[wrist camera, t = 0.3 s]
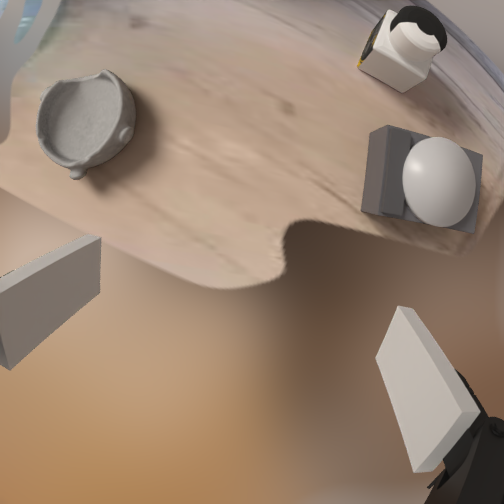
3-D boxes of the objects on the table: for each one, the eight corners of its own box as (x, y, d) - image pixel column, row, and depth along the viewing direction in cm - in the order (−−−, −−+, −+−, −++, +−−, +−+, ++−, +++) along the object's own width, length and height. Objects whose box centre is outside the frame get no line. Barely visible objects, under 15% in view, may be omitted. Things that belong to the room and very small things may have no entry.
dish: (47, 103, 36) (28, 96, 31) (126, 58, 35) (111, 44, 30) (67, 190, 39) (47, 192, 34) (152, 150, 38) (138, 145, 33)
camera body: (369, 133, 36) (392, 122, 29) (457, 157, 36) (489, 154, 29) (360, 210, 38) (382, 216, 31) (449, 227, 38) (480, 235, 31)
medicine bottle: (371, 30, 33) (403, -12, 22) (415, 56, 34) (458, 23, 22) (355, 68, 35) (388, 29, 23) (402, 94, 35) (448, 67, 23)
